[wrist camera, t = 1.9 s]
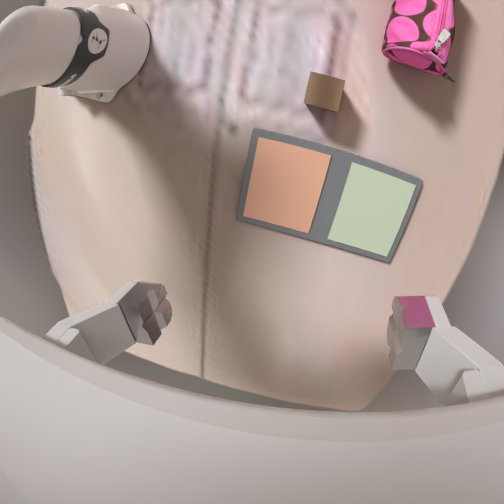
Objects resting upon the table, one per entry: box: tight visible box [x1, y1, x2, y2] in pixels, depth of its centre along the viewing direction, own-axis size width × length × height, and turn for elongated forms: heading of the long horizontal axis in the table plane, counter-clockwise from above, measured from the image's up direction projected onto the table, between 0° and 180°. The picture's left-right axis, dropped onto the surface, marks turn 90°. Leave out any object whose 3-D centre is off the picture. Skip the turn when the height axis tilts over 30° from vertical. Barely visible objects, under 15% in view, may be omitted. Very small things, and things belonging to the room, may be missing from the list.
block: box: [304, 72, 345, 112], centre depth 30 cm, size 4×4×6 cm
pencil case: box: [382, 0, 455, 82], centre depth 18 cm, size 21×10×10 cm, turn 168°
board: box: [236, 128, 423, 262], centre depth 38 cm, size 25×14×1 cm, turn 79°
